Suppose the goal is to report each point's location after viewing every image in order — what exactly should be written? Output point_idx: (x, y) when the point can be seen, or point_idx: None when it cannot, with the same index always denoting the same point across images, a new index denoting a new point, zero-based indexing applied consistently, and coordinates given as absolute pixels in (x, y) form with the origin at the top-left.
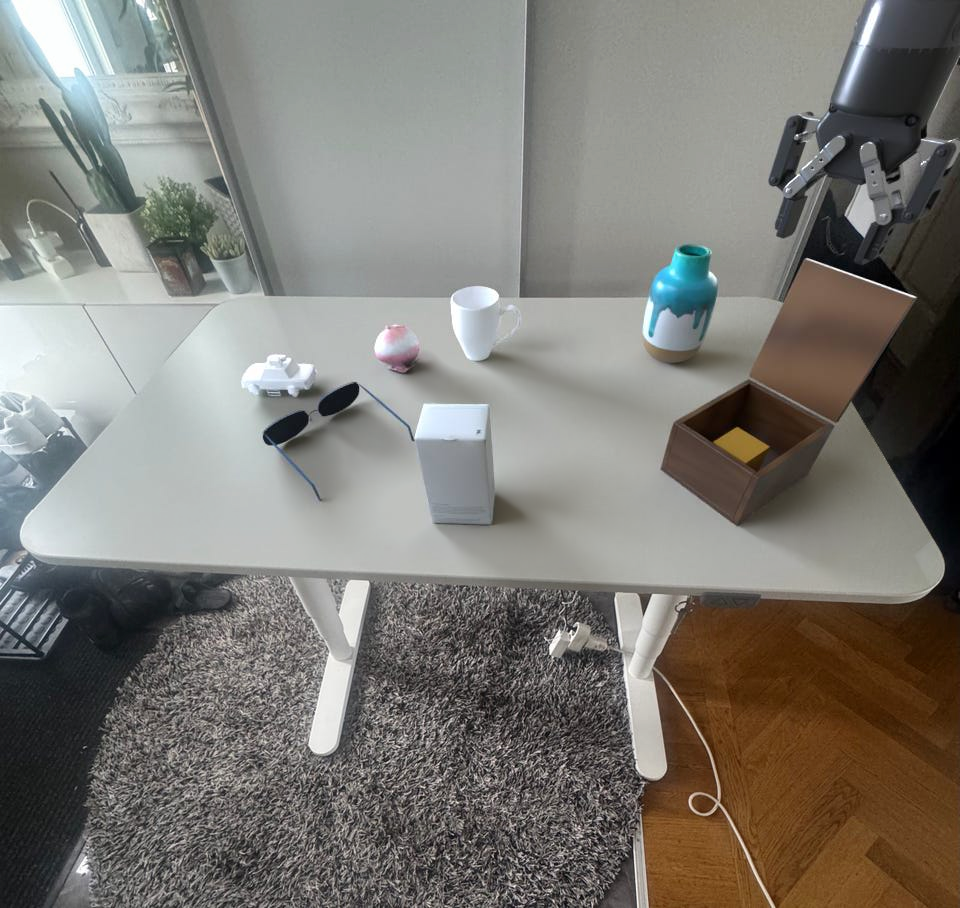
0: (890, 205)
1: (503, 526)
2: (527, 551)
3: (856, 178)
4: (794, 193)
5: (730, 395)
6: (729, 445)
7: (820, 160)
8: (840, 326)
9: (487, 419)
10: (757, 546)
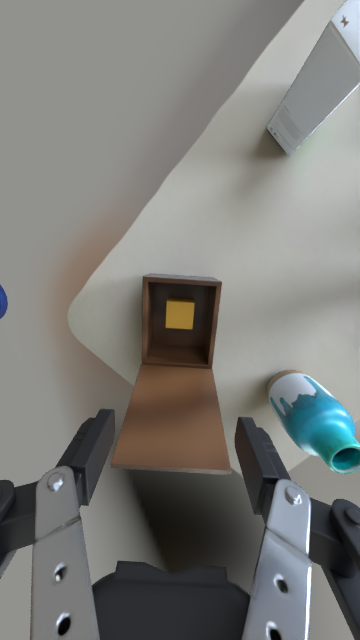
0: (36, 515)
1: (258, 136)
2: (229, 135)
3: (134, 583)
4: (275, 493)
5: (210, 342)
6: (184, 308)
7: (278, 635)
8: (164, 420)
9: (350, 52)
10: (133, 269)
